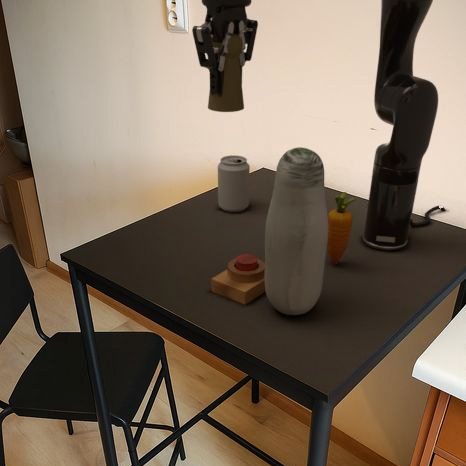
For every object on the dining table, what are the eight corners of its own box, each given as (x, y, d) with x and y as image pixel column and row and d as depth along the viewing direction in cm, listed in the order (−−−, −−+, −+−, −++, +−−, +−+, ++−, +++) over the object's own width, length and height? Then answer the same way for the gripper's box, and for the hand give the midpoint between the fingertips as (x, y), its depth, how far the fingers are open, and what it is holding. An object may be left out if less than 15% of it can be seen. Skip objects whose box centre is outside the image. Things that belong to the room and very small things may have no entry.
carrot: (332, 256, 122) (340, 186, 114) (352, 264, 119) (361, 192, 111) (317, 264, 119) (324, 192, 111) (337, 272, 117) (345, 199, 108)
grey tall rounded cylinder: (328, 320, 102) (345, 157, 86) (271, 327, 100) (278, 162, 84) (309, 292, 110) (322, 139, 94) (256, 298, 108) (260, 143, 92)
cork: (216, 113, 94) (215, 36, 88) (202, 105, 99) (200, 31, 92) (250, 110, 96) (252, 34, 90) (234, 102, 101) (235, 29, 94)
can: (249, 213, 141) (249, 163, 134) (217, 213, 141) (217, 163, 134) (248, 202, 147) (249, 153, 140) (218, 201, 147) (218, 153, 140)
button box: (211, 291, 110) (210, 269, 108) (247, 270, 117) (247, 249, 115) (245, 305, 106) (245, 283, 104) (280, 282, 113) (281, 260, 111)
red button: (231, 268, 109) (231, 259, 108) (244, 260, 112) (244, 252, 111) (248, 274, 107) (248, 265, 106) (261, 266, 110) (261, 258, 109)
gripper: (216, -29, 80) (217, 104, 90) (275, -32, 89) (269, 89, 99) (174, -31, 83) (180, 97, 93) (235, -34, 93) (234, 83, 103)
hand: (226, 93), depth 96 cm, fingers closed on cork, 4 cm apart
